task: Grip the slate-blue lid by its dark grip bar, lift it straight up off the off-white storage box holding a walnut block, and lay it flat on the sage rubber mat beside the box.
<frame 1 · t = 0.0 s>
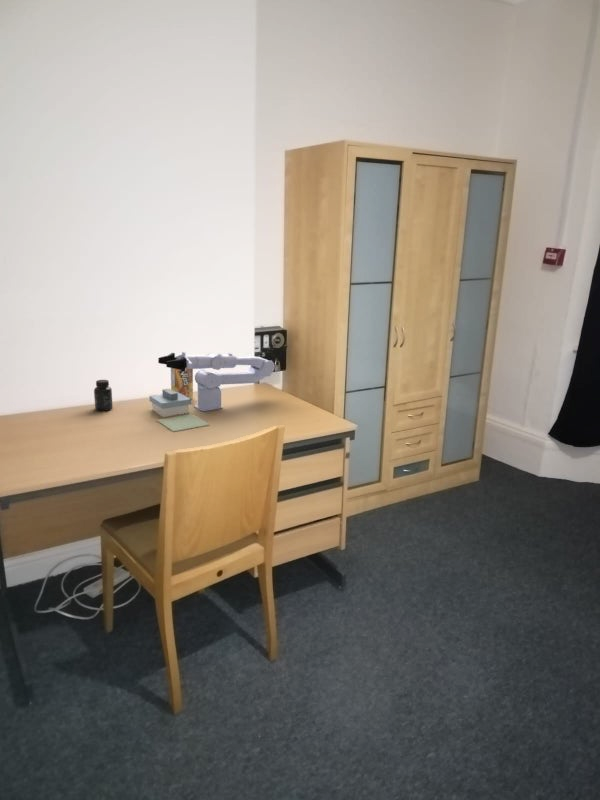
hand: (162, 362, 223), 22 cm above the table, tool horizontal, fingers open, 7 cm apart
supplement bottle: (104, 409, 234), on the table
mat: (183, 423, 221), on the table
candy box: (182, 399, 252), on the table
storage box: (170, 411, 234), on the table
lid: (170, 402, 233), point 4 cm above the table, touching storage box
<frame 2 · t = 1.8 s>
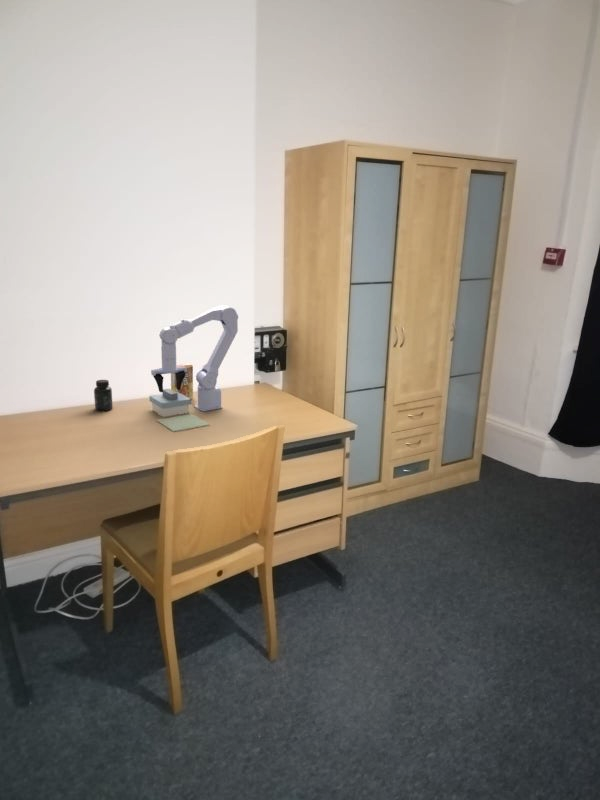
hand: (169, 390, 232), 9 cm above the table, tool pointing down, fingers open, 7 cm apart
nothing on the table moved.
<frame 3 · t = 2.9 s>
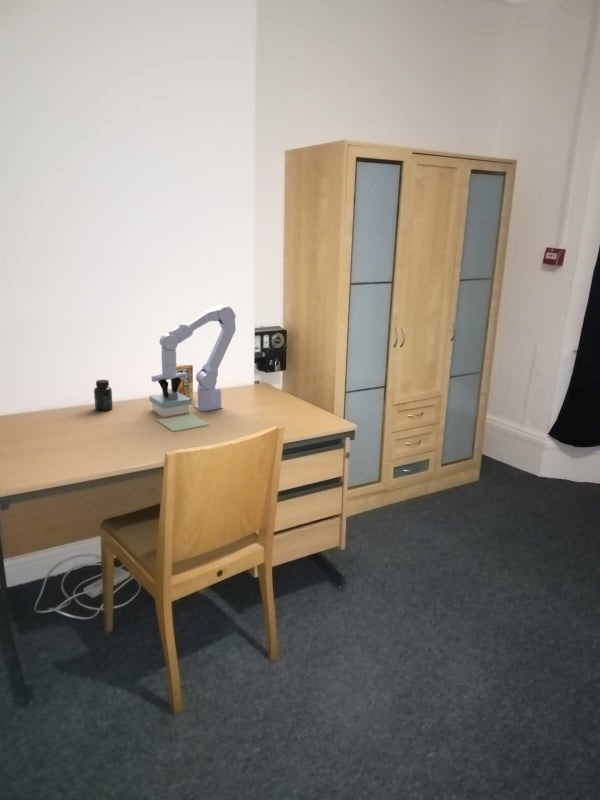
hand: (170, 396, 232), 6 cm above the table, tool pointing down, fingers closed on lid, 3 cm apart
lid: (170, 402, 233), point 4 cm above the table, touching gripper, storage box
everything else where it was.
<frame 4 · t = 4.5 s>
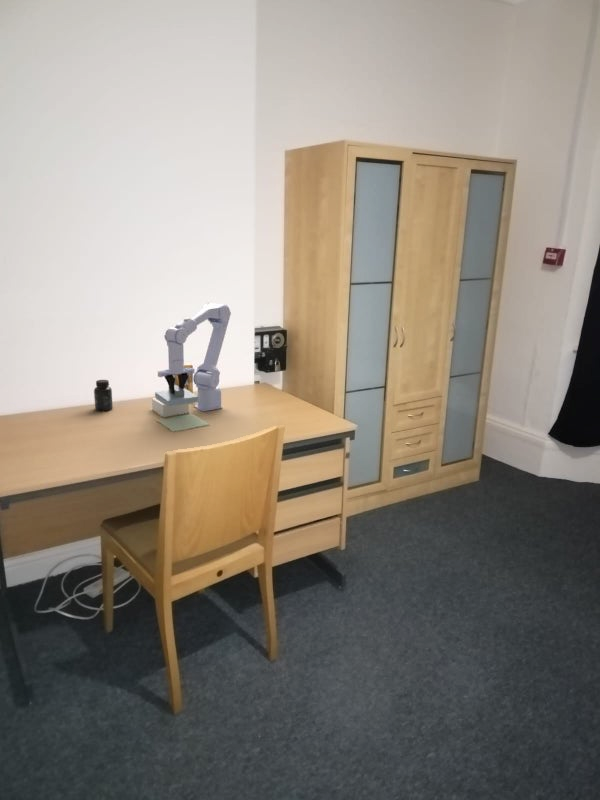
hand: (176, 392, 223), 10 cm above the table, tool pointing down, fingers closed on lid, 3 cm apart
lid: (176, 399, 224), point 8 cm above the table, touching gripper
everything else where it was.
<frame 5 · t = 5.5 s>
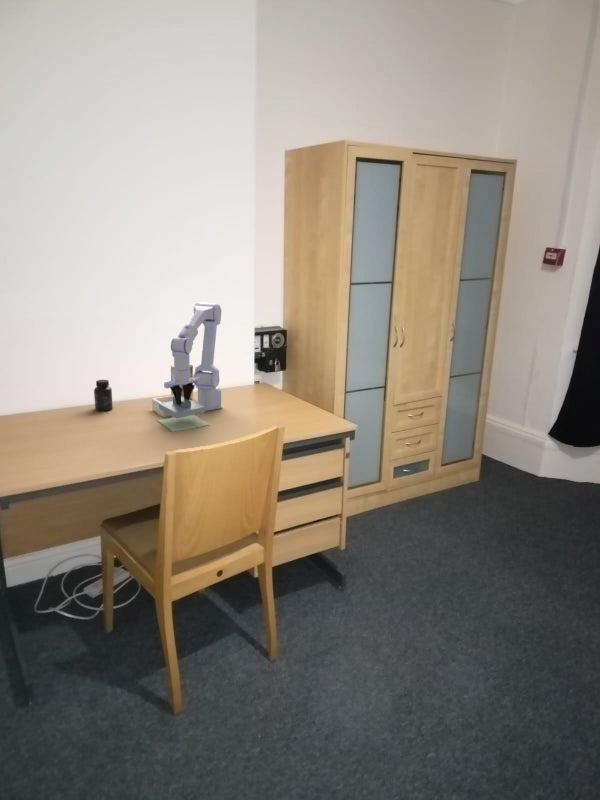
hand: (182, 403, 218), 8 cm above the table, tool pointing down, fingers closed on lid, 3 cm apart
lid: (181, 410, 220), point 5 cm above the table, touching gripper
everything else where it was.
when the fingers open (4 cm above the table, at t = 6.4 s): lid stays where it is, resting on mat.
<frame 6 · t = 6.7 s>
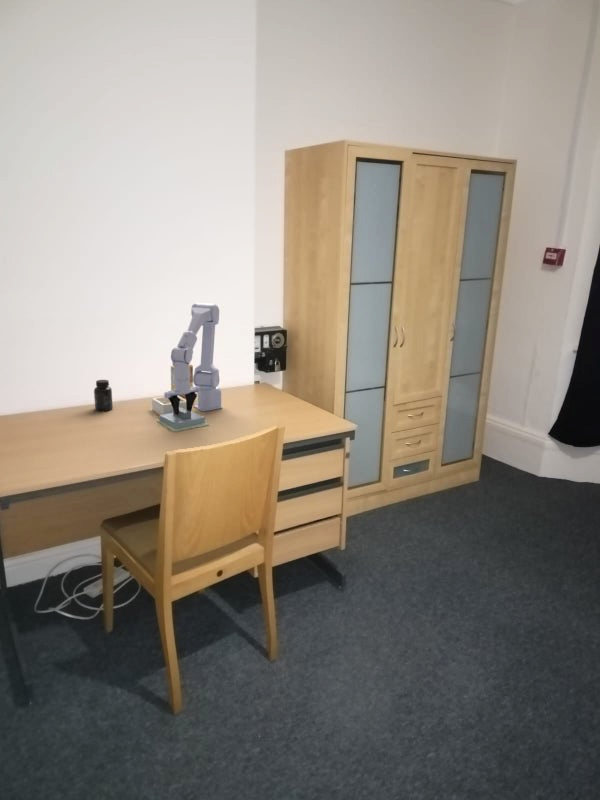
hand: (182, 412, 220), 4 cm above the table, tool pointing down, fingers open, 5 cm apart
lid: (182, 421, 221), resting on mat
everything else where it was.
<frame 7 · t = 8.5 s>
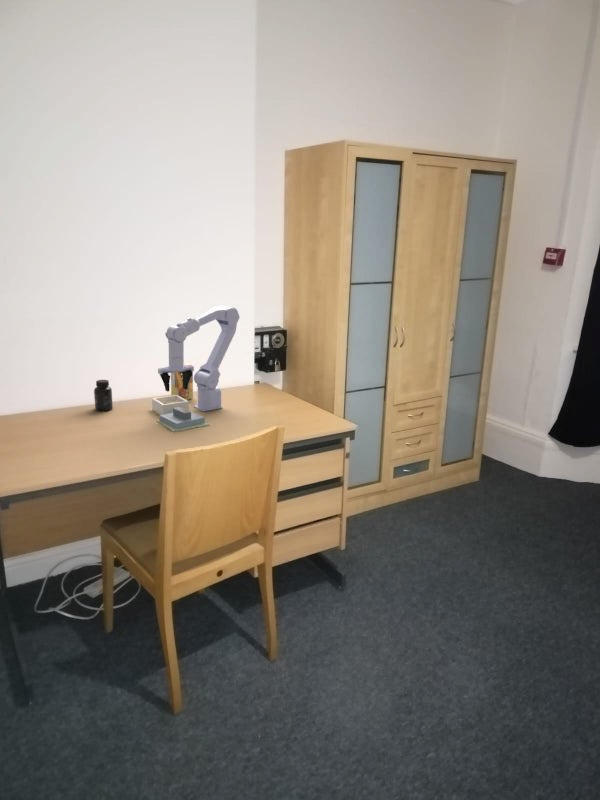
hand: (176, 389, 228), 10 cm above the table, tool pointing down, fingers open, 7 cm apart
nothing on the table moved.
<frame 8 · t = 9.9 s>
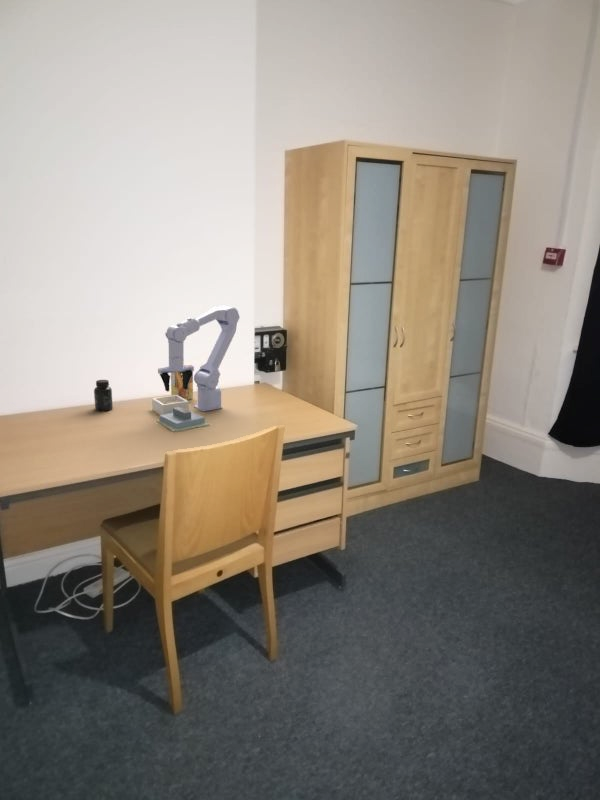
hand: (176, 389, 228), 10 cm above the table, tool pointing down, fingers open, 7 cm apart
nothing on the table moved.
at the end: lid inside the target area on the mat (0.6 cm from its centre), point 0.4 cm above the mat's base; lid tilted 0°; lid touching mat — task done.
